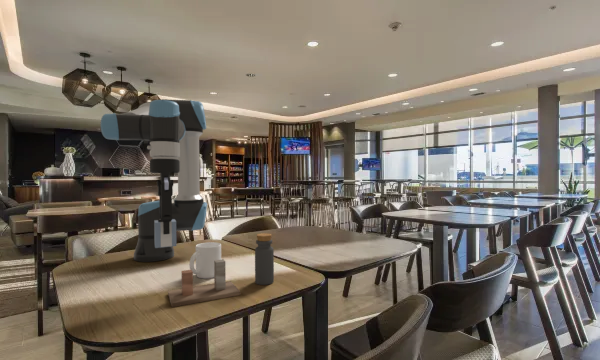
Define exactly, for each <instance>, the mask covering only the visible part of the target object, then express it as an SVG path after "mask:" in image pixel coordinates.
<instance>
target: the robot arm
mask: <svg viewBox="0 0 600 360" xmlns="http://www.w3.org/2000/svg"><path fill="white" fill-rule="evenodd" d="M206 129H207V120H206V114H205V107H204V105H203V102H201V101H198V100H191V99H190V100H189V99H164V98H163V99H154V100H151V101H148V102H144V103H142V104H140V105H139V106H138V108H136V109H133V110H130V111H127V112H124V113H115V112H113V113H104V114H103V115H102V116H101V119H100V132H101V134H102V136H103V137H104V138H105V139H107V140H114V141H149V145H147V147H146V149H147V150H149V157H150V158H152V159H150V160H149V172H150V173H151V174H160V175H159V179H157V180H156V186H157V195H158V196H159V199H158V200H154V201H147V202H144V203H141V204H140V205H139V206H138V211H137V212H138V214H137V220H138V221H137V225H138V226H137V227H138V230H137V233H138V239H137V244H136V246H135V249H134V253H133V260H134V261H135V262H139V263H142V262H144V263H146V262H158V261H165V260H169V259H171V258H173V257H174V256H175V249H174V246H172V221H171V220H172V219H175V220H176V232H180V231H182V232H184V231H192V232H193V231H197V230H198V231H200V230H203V228H204V227H205V224H206V219H207V213H208V212H207V209H208V202H206V201H205V200H204V197H203V196H202V195H201V190H200V189H201V186H200V181H201V180H200V177H201V176H200V137H202V135H204V131H205V130H206ZM171 174H177V190H178V191H177V195H176V196H175V198H172V197H173V195H174V194H173V193H174V192H173V191H174V190H173V188H174V180H173V179H171ZM173 201H174V202H173ZM154 220H158V222H160V227H161V248H155V227H154ZM167 246H172V247H167Z"/></svg>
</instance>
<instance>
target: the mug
mask: <svg viewBox="0 0 600 360" xmlns="http://www.w3.org/2000/svg"><path fill="white" fill-rule="evenodd" d="M221 259H222V243H221V242H216V241H214V242H213V241H212V242H211V241H210V242H209V241H207V242H202V243H197V244H196V245H195V252H193V254H192V255H191V256H190V259H189V266H188V267H189V270H192V272H193V275H195V276H196V277H197V278H199V279H203V280H204V279H206V280H207V279H214V260H221Z"/></svg>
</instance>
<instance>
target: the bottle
mask: <svg viewBox="0 0 600 360" xmlns="http://www.w3.org/2000/svg"><path fill="white" fill-rule="evenodd" d="M272 237H273V235H272V233H266V232H265V233H263V232H262V233H257V234H256V238H257V239H256V241H255V244H256V245H257V247H255V248H254V276H255V277H254V283H255V284H256V285H260V286H261V285H262V286H266V285H271V284H273V283H274V281H275V279H274V278H275V276H274V275H275V272H274V271H275V267H274V266H275V264H274V261H275V260H274V259H275V257H274V256H275V254H274V251H275V250H274V247H273V246H271V244H273V239H272Z"/></svg>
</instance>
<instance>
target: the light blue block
mask: <svg viewBox="0 0 600 360" xmlns="http://www.w3.org/2000/svg"><path fill="white" fill-rule="evenodd" d="M171 221H172V246H173V247H177V231H176V220H175V219H172V220H171ZM154 227H155V248H161V227H160V222H158V220H154ZM172 246H167V247H172Z"/></svg>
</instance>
